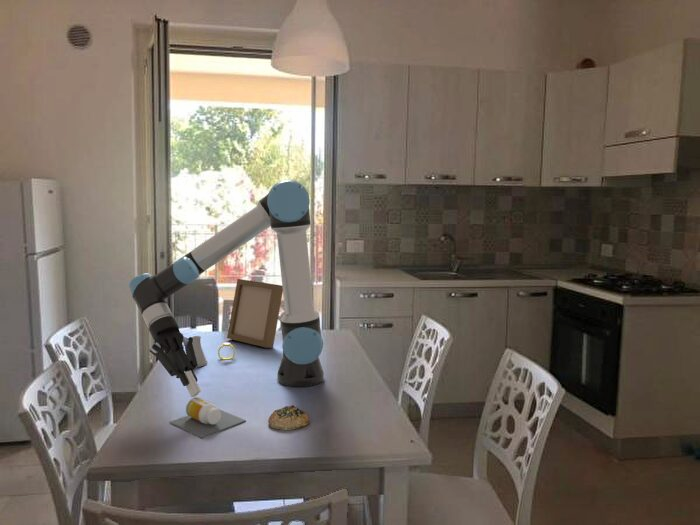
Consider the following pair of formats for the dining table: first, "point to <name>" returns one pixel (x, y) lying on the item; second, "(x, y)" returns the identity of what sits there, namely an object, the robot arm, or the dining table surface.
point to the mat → (207, 429)
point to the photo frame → (255, 313)
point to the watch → (226, 345)
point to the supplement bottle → (203, 411)
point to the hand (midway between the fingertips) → (196, 394)
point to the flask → (199, 351)
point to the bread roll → (288, 418)
